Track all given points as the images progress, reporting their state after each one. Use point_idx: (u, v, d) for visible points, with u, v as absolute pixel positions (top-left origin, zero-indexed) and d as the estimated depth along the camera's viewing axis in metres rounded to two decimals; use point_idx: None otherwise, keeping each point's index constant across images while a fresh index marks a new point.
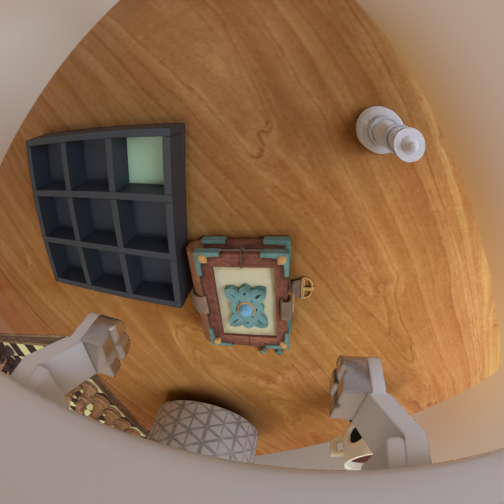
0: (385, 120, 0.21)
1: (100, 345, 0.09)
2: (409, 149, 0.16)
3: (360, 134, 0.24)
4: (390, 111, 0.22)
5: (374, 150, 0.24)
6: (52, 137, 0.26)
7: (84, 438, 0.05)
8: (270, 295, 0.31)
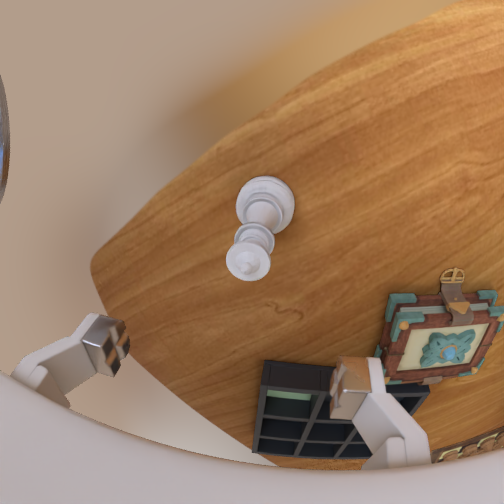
0: (246, 217, 0.21)
1: (100, 345, 0.09)
2: (250, 272, 0.15)
3: None
4: (238, 201, 0.22)
5: (288, 220, 0.22)
6: (254, 440, 0.37)
7: (83, 438, 0.05)
8: (442, 328, 0.23)
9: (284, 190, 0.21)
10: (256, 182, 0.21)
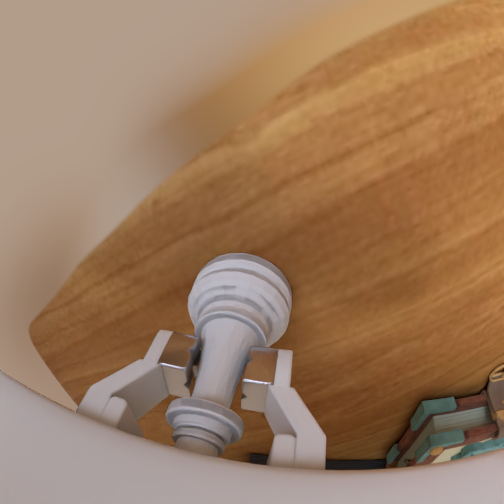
0: (202, 339, 0.11)
1: (183, 368, 0.09)
2: None
3: None
4: (190, 302, 0.12)
5: (280, 335, 0.12)
6: None
7: (83, 438, 0.05)
8: None
9: (272, 289, 0.11)
10: (220, 273, 0.12)
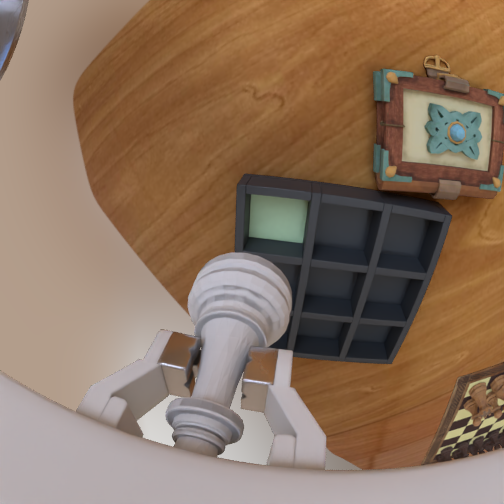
0: (202, 339, 0.11)
1: (183, 368, 0.09)
2: None
3: None
4: (190, 302, 0.12)
5: (280, 335, 0.12)
6: None
7: (83, 438, 0.05)
8: (440, 100, 0.19)
9: (272, 289, 0.11)
10: (220, 273, 0.12)
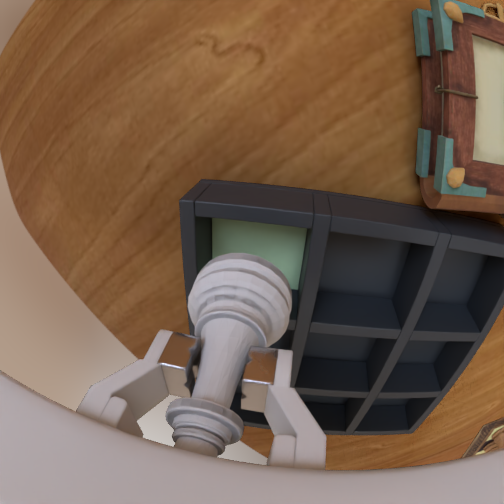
0: (202, 339, 0.11)
1: (183, 368, 0.09)
2: None
3: None
4: (190, 302, 0.12)
5: (280, 335, 0.12)
6: None
7: (84, 438, 0.05)
8: None
9: (272, 289, 0.11)
10: (220, 273, 0.12)
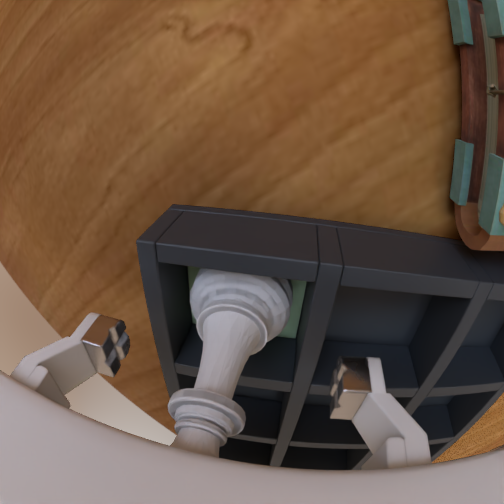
0: None
1: (100, 345, 0.09)
2: None
3: None
4: (192, 296, 0.12)
5: (280, 329, 0.12)
6: None
7: (83, 438, 0.05)
8: None
9: (273, 283, 0.12)
10: None
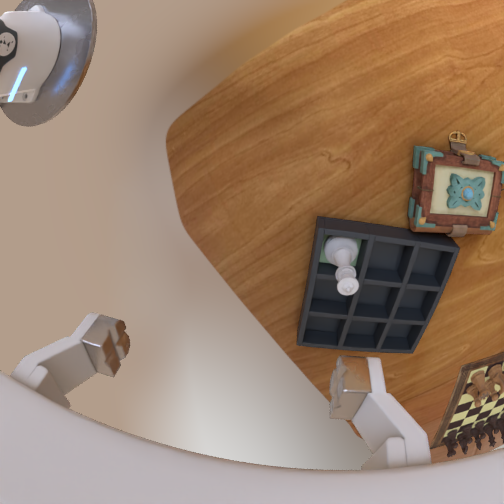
0: (333, 258, 0.36)
1: (100, 345, 0.09)
2: (350, 291, 0.31)
3: None
4: (327, 247, 0.37)
5: (354, 258, 0.37)
6: (302, 321, 0.42)
7: (84, 438, 0.05)
8: (458, 170, 0.29)
9: (354, 241, 0.37)
10: (338, 237, 0.37)
